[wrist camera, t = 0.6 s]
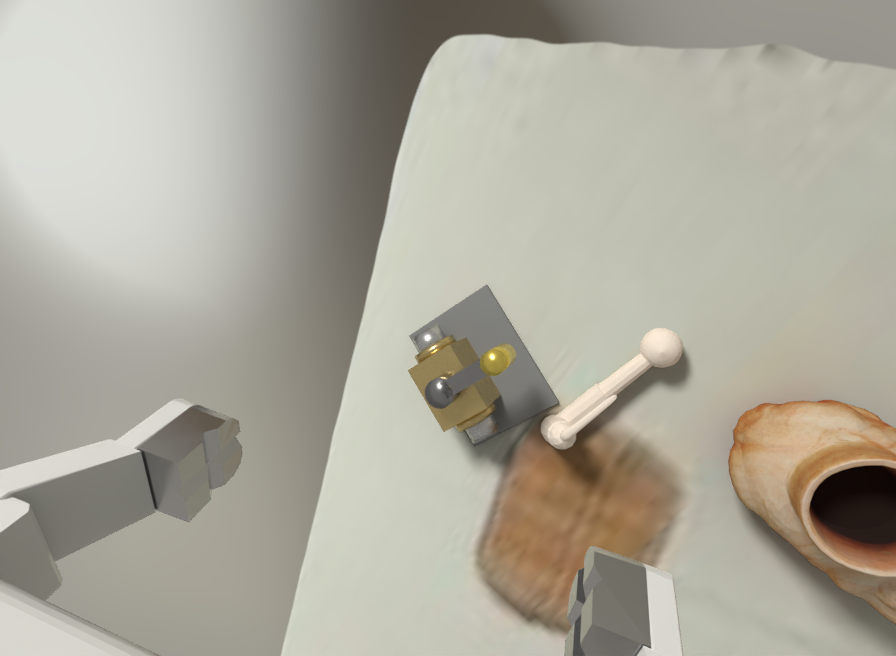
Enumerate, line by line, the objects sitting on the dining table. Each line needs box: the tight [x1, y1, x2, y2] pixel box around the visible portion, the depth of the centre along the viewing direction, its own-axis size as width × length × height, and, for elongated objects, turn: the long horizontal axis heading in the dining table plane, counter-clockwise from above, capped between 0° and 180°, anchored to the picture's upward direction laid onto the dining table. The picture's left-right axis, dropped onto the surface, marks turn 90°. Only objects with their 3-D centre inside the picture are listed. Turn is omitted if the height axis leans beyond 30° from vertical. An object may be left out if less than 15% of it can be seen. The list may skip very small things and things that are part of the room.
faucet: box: [541, 328, 683, 449], centre depth 50 cm, size 4×18×10 cm, turn 134°
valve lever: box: [425, 343, 516, 409], centre depth 48 cm, size 11×3×6 cm, turn 123°
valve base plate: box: [410, 285, 559, 446], centre depth 57 cm, size 16×12×1 cm
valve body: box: [408, 324, 501, 444], centre depth 55 cm, size 14×6×6 cm, turn 33°
